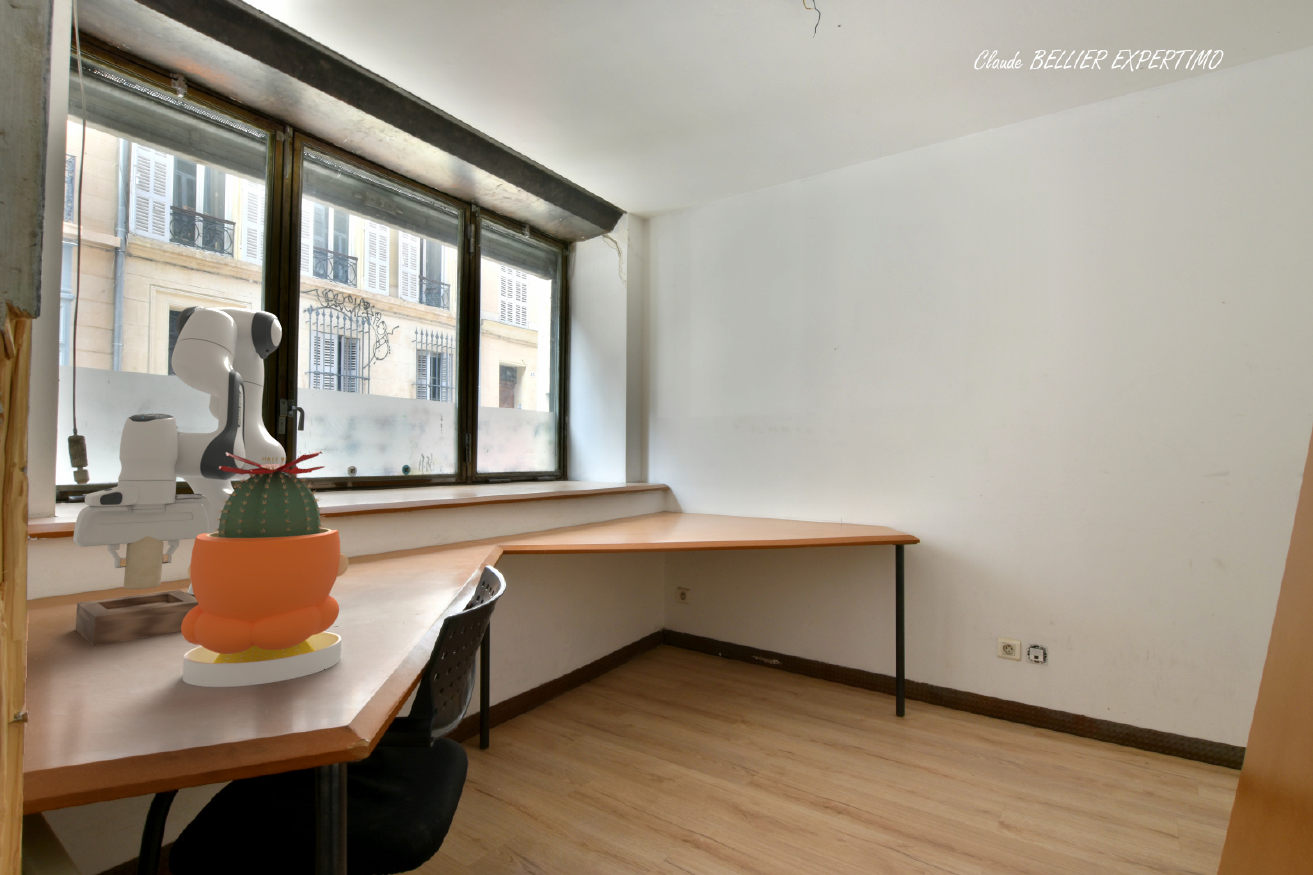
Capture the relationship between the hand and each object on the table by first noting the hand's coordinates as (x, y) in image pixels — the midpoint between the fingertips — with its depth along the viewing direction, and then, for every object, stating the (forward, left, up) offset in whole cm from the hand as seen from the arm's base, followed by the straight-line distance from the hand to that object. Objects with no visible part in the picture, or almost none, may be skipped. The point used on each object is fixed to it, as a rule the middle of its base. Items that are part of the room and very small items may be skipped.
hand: (143, 565), depth 118 cm
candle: (0, 0, -4) cm, 4 cm away
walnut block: (0, 0, -13) cm, 13 cm away
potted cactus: (-6, +45, -12) cm, 47 cm away
